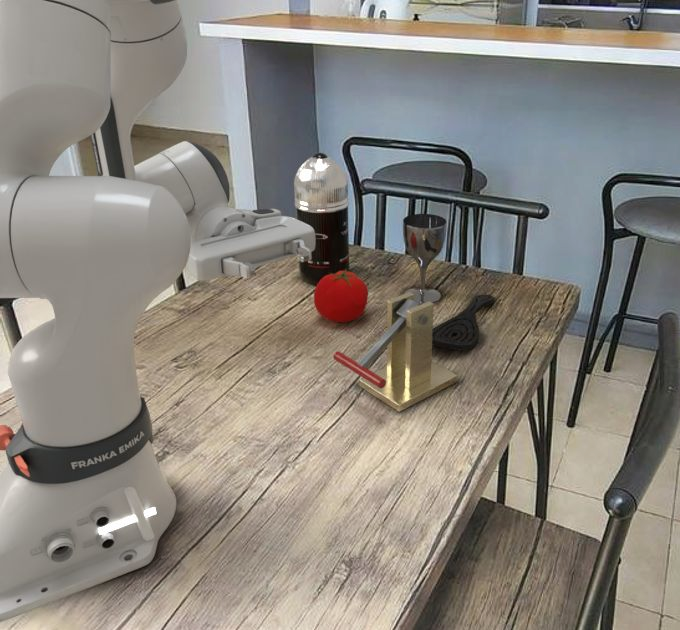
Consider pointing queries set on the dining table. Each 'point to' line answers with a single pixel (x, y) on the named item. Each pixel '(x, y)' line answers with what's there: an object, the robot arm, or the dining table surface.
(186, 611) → the dining table surface
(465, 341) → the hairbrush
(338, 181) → the black silver domed canister
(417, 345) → the bracket
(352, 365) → the lever
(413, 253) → the metal goblet
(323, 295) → the tomato
